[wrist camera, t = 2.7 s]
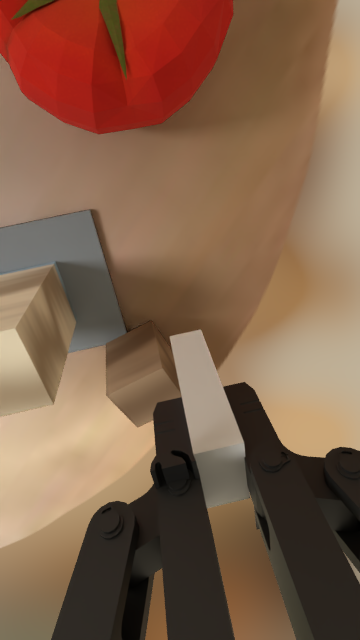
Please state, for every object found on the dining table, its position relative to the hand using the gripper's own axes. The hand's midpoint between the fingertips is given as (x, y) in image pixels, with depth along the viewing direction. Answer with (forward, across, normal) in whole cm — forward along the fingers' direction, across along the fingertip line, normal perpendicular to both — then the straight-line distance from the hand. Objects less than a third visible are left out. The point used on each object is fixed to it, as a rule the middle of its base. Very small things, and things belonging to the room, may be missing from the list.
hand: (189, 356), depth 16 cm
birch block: (+12, -10, 0) cm, 16 cm away
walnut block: (+12, -4, -7) cm, 14 cm away
